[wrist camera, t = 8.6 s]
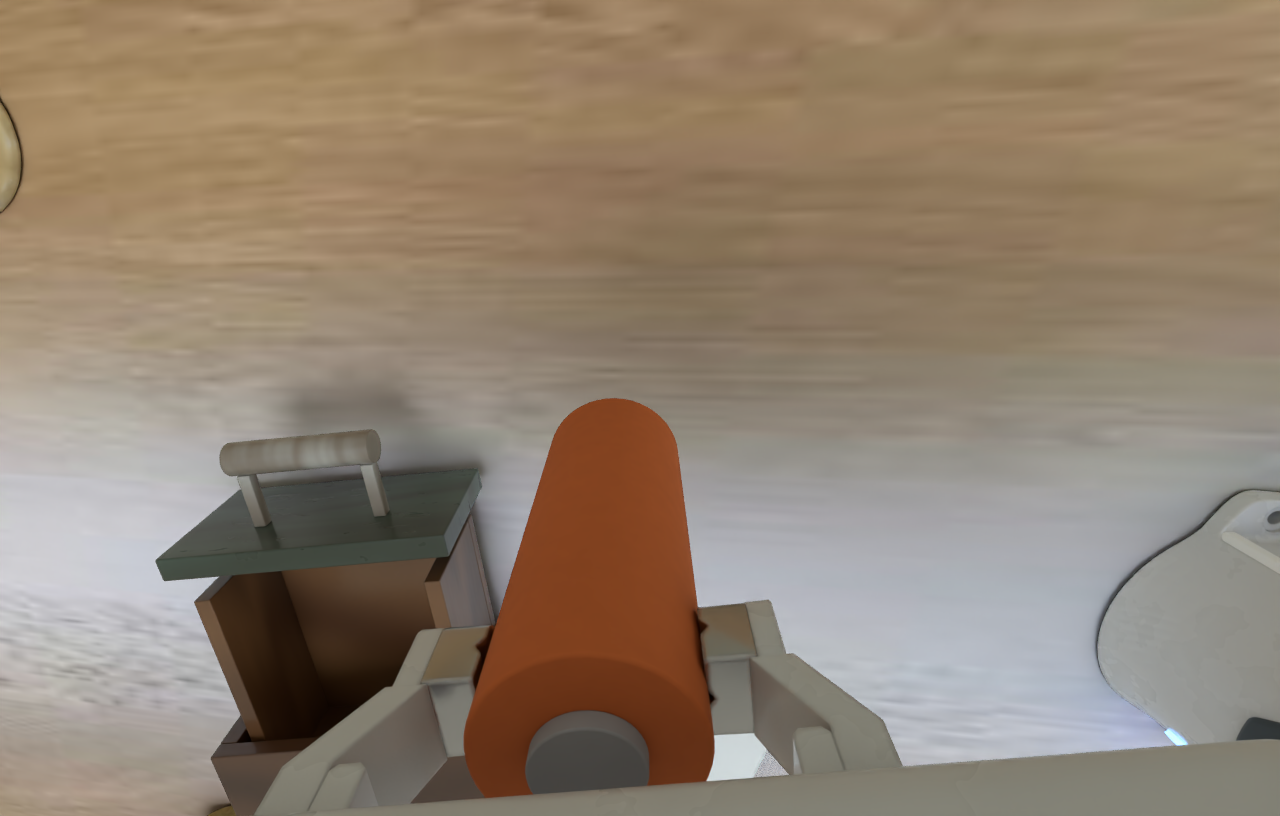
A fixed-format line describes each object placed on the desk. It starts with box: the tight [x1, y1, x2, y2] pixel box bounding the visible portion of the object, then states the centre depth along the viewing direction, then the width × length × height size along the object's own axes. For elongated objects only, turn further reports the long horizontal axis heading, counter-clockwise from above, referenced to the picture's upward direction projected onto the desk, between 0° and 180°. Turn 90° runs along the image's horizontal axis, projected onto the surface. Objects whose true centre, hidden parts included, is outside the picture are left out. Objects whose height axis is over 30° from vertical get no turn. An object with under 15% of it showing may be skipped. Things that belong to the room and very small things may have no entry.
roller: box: [464, 398, 715, 798], centre depth 16 cm, size 4×4×12 cm
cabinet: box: [211, 716, 485, 816], centre depth 41 cm, size 17×15×9 cm
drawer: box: [156, 429, 496, 742], centre depth 36 cm, size 20×14×7 cm
